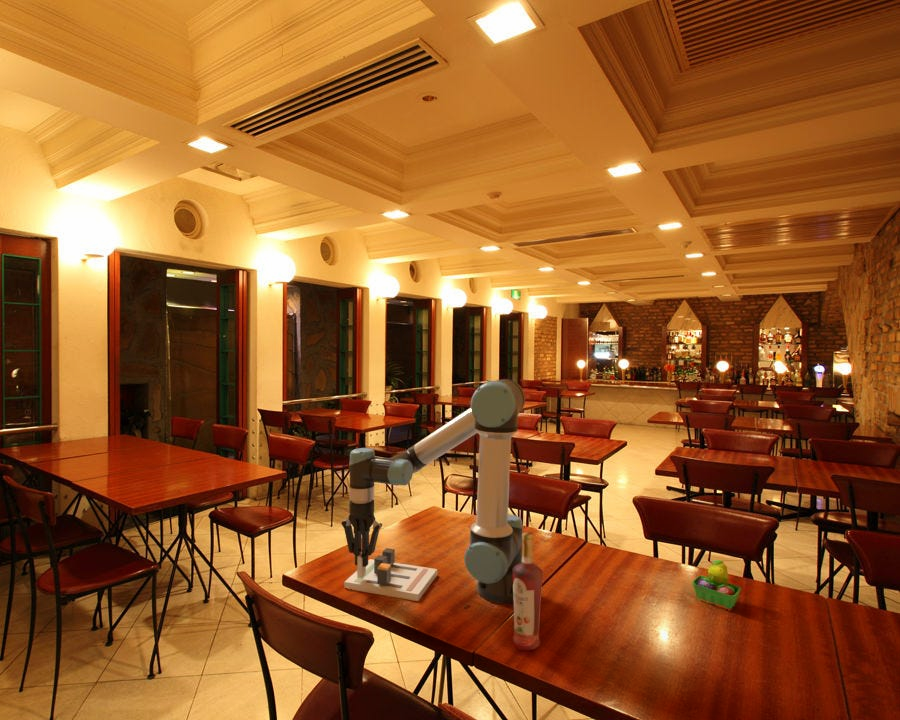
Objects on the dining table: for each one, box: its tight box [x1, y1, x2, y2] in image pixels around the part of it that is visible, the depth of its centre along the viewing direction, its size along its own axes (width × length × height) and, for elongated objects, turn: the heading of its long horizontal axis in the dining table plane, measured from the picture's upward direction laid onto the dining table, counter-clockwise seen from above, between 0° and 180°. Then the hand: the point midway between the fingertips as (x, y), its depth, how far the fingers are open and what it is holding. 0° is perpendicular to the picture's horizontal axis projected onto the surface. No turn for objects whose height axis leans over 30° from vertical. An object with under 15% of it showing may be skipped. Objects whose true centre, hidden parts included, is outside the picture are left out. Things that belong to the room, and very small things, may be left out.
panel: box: [344, 558, 438, 602], centre depth 154 cm, size 24×17×2 cm
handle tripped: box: [377, 563, 391, 586], centre depth 148 cm, size 3×3×5 cm
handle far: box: [381, 547, 396, 566], centre depth 161 cm, size 3×3×4 cm
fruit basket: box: [691, 559, 742, 610], centre depth 144 cm, size 11×9×11 cm
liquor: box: [511, 531, 543, 652], centre depth 121 cm, size 7×7×28 cm
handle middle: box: [373, 554, 387, 574], centre depth 155 cm, size 3×3×4 cm
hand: (361, 576), depth 150 cm, fingers closed
